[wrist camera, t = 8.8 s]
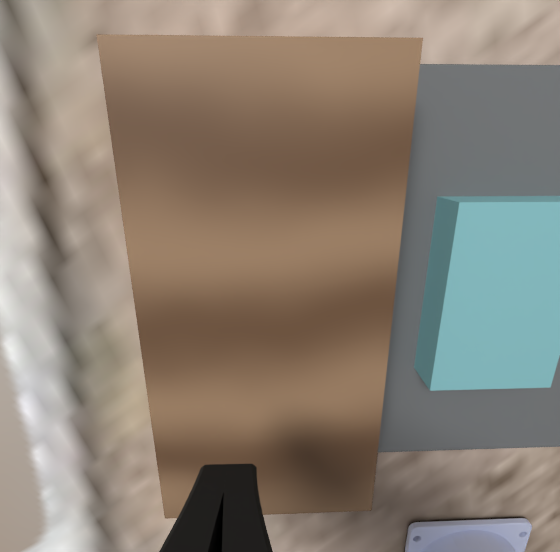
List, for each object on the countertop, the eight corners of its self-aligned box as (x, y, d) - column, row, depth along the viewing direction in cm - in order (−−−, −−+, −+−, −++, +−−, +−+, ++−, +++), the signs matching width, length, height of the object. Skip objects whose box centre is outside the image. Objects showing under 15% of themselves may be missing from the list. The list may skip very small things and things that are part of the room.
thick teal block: (429, 390, 18) (414, 367, 20) (550, 387, 18) (523, 364, 20) (459, 202, 15) (437, 196, 17) (603, 201, 15) (565, 195, 17)
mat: (565, 441, 22) (570, 446, 22) (369, 447, 22) (371, 452, 21) (683, 68, 16) (693, 66, 15) (407, 66, 15) (410, 64, 15)
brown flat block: (352, 447, 22) (371, 510, 18) (182, 453, 21) (164, 518, 18) (383, 65, 15) (422, 37, 11) (139, 64, 15) (96, 34, 11)
